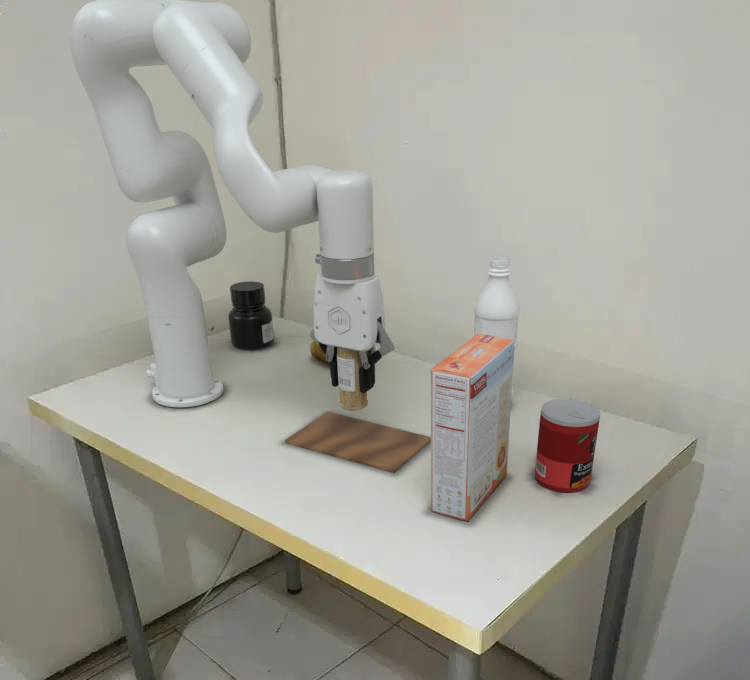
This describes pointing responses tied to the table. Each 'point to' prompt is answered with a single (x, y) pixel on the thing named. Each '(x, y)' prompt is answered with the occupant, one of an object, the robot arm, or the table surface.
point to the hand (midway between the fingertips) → (353, 385)
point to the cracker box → (470, 424)
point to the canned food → (566, 444)
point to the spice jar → (350, 380)
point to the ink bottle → (250, 317)
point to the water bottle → (497, 304)
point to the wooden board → (360, 441)
